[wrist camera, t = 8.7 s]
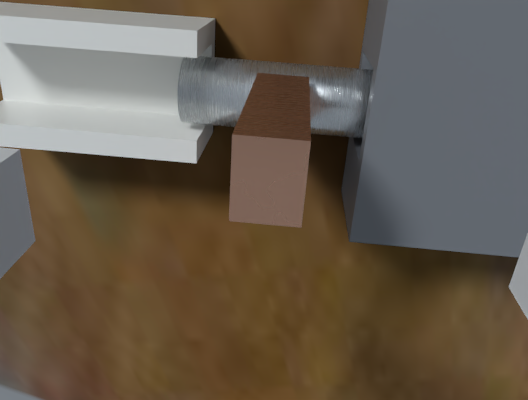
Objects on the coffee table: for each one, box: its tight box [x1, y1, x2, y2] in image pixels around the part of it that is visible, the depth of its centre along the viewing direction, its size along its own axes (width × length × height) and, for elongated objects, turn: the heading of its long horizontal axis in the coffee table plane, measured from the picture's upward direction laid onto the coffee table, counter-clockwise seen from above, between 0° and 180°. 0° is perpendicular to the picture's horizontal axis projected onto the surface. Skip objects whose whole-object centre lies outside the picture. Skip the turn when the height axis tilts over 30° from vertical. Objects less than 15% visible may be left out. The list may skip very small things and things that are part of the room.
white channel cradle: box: [0, 2, 215, 163], centre depth 26 cm, size 6×12×5 cm, turn 86°
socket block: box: [341, 0, 528, 257], centre depth 25 cm, size 12×9×6 cm
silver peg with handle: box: [177, 56, 373, 228], centre depth 21 cm, size 3×16×12 cm, turn 86°
